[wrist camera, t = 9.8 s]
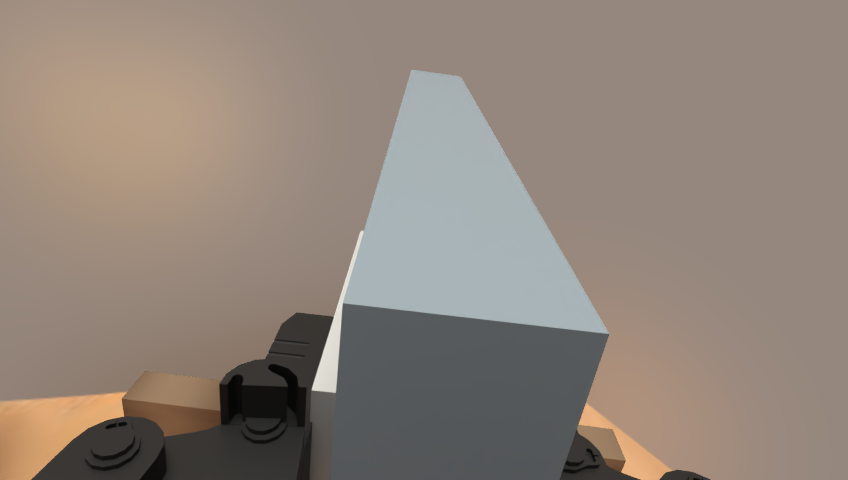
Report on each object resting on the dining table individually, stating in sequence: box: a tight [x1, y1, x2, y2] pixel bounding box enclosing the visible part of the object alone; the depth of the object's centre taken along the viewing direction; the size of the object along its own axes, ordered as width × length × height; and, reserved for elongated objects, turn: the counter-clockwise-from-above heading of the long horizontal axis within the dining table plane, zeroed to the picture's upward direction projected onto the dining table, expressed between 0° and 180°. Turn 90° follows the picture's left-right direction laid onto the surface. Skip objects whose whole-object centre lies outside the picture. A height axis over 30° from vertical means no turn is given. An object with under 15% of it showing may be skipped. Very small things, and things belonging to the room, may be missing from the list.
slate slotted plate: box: [329, 70, 609, 480], centre depth 14 cm, size 18×2×12 cm, turn 0°
